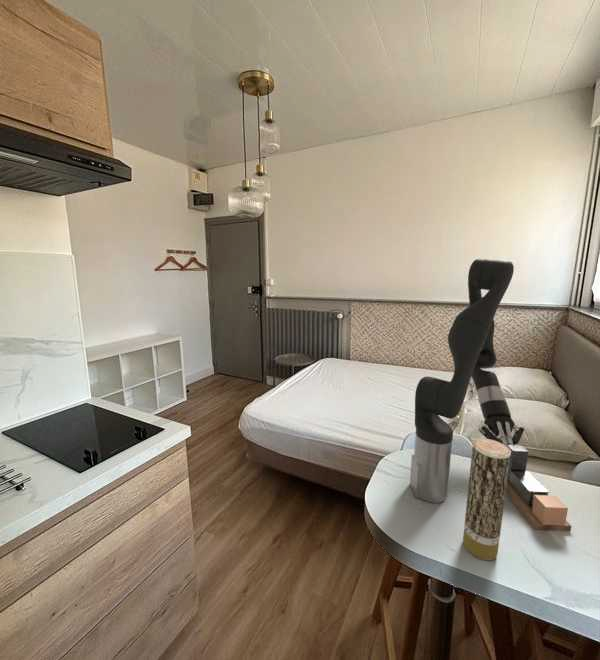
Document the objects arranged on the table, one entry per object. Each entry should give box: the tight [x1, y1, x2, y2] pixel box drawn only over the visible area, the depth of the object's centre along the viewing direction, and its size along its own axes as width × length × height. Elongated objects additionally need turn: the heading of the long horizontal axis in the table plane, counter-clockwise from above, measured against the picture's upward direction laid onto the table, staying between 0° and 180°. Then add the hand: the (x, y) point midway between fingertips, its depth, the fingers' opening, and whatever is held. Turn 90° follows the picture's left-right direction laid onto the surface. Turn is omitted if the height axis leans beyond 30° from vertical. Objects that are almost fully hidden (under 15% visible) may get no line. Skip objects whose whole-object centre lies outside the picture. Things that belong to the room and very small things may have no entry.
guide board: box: [505, 481, 573, 532], centre depth 84 cm, size 8×20×2 cm, turn 176°
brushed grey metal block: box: [507, 444, 546, 505], centre depth 82 cm, size 4×16×10 cm, turn 176°
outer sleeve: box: [509, 471, 549, 506], centre depth 83 cm, size 5×8×4 cm, turn 176°
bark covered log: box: [462, 438, 511, 561], centre depth 67 cm, size 7×7×25 cm
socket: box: [532, 495, 569, 526], centre depth 75 cm, size 5×4×5 cm
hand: (510, 459), depth 91 cm, fingers closed
